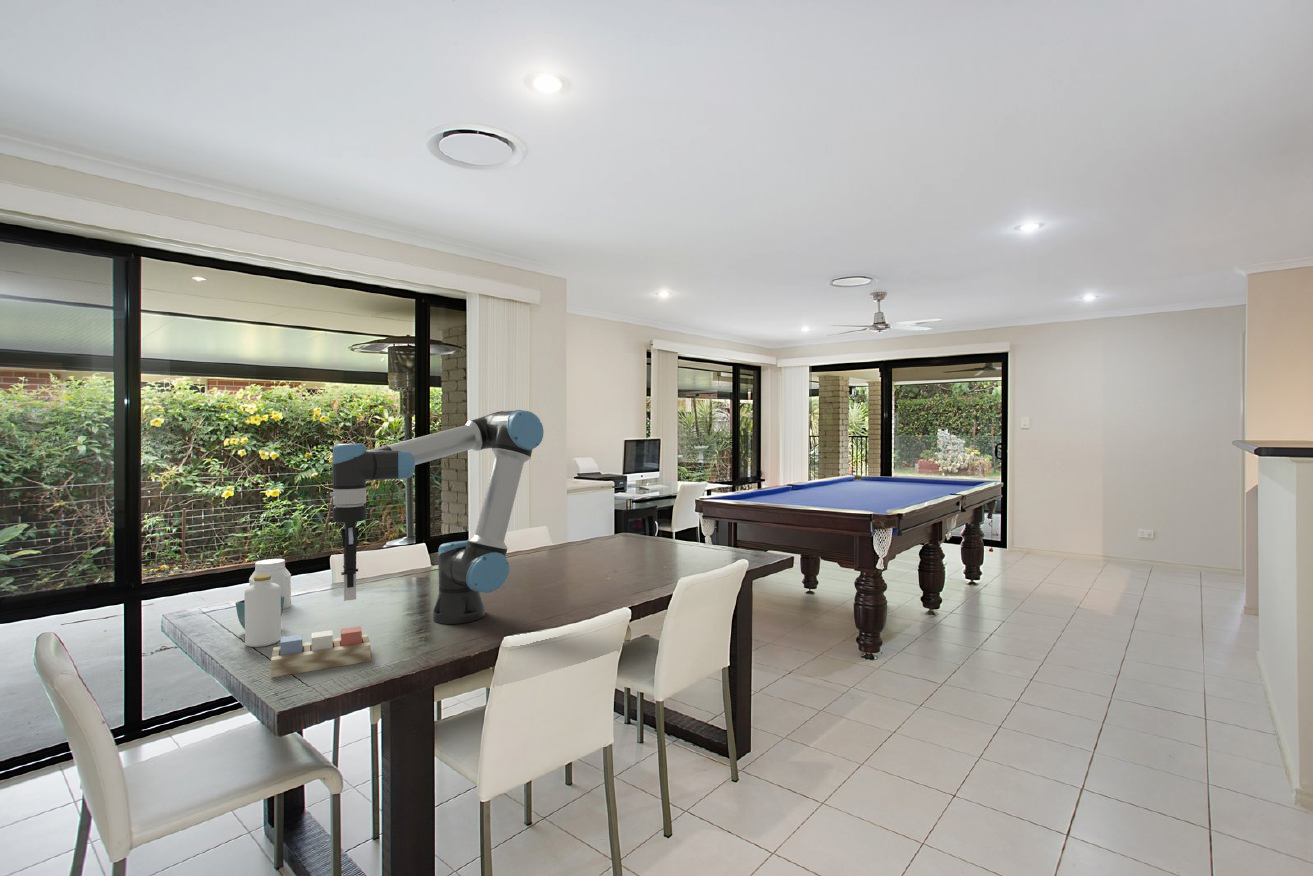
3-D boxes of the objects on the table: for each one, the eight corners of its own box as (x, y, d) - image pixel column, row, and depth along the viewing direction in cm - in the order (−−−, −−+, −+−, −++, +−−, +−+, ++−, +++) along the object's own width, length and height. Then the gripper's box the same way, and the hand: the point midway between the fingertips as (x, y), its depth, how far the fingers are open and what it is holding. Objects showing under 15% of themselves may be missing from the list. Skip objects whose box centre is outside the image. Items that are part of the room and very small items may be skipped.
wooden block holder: (367, 649, 165) (367, 633, 165) (370, 661, 156) (370, 645, 156) (273, 663, 155) (273, 647, 155) (271, 677, 146) (271, 660, 146)
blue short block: (302, 654, 155) (302, 634, 155) (302, 660, 151) (302, 639, 151) (281, 657, 153) (281, 637, 153) (280, 663, 149) (280, 642, 149)
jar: (284, 601, 212) (284, 556, 212) (295, 606, 206) (295, 560, 206) (245, 608, 204) (244, 562, 203) (255, 614, 197) (254, 566, 197)
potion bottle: (255, 638, 174) (254, 573, 174) (287, 637, 175) (286, 572, 174) (238, 649, 166) (237, 580, 165) (271, 647, 166) (270, 579, 166)
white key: (332, 650, 159) (332, 630, 159) (332, 655, 155) (332, 635, 155) (311, 653, 156) (311, 633, 156) (311, 658, 152) (311, 638, 152)
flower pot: (261, 636, 176) (261, 604, 176) (234, 634, 178) (234, 602, 178) (285, 626, 185) (285, 595, 185) (260, 624, 187) (259, 594, 186)
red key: (360, 645, 162) (360, 626, 162) (361, 651, 158) (361, 631, 158) (341, 648, 159) (340, 629, 159) (341, 654, 156) (341, 633, 155)
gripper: (332, 503, 162) (332, 595, 162) (333, 508, 151) (334, 607, 151) (364, 502, 166) (364, 591, 166) (367, 507, 154) (368, 603, 154)
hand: (350, 599), depth 158 cm, fingers closed
